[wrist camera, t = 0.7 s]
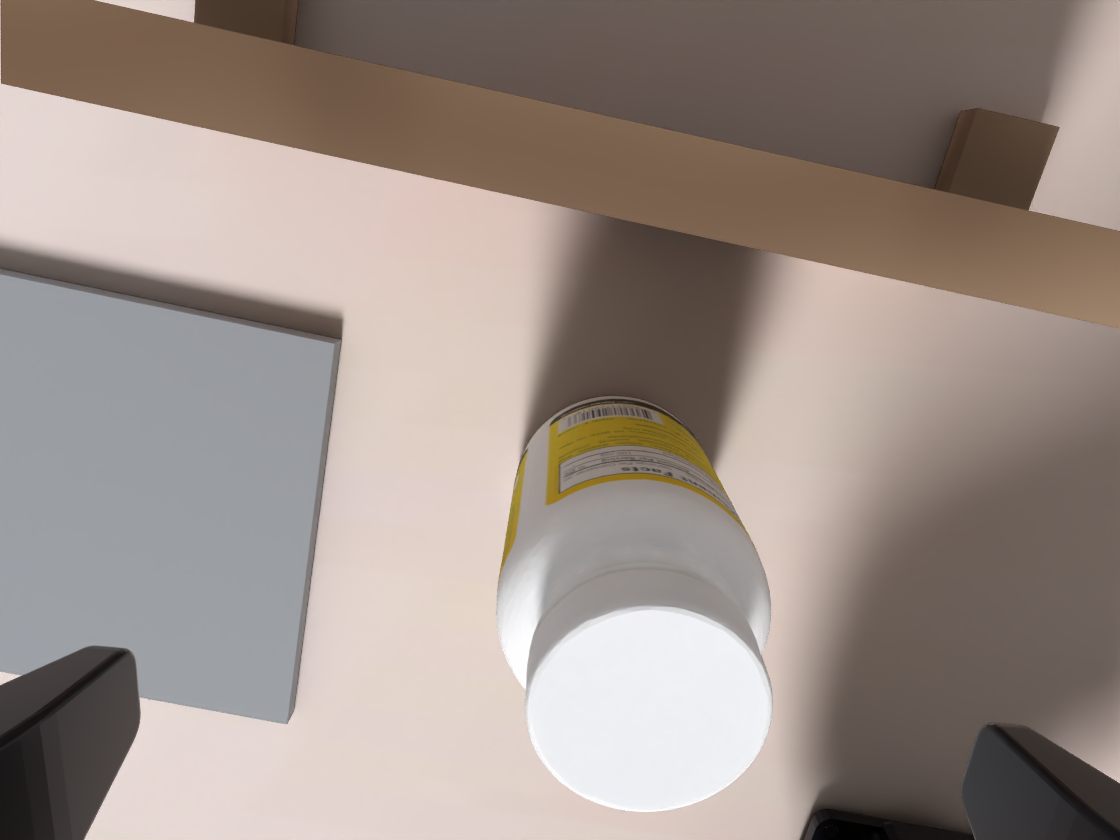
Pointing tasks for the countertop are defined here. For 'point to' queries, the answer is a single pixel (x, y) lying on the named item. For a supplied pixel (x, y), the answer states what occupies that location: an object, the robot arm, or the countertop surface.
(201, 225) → the countertop surface
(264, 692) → the mat
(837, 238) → the screen
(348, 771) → the countertop surface
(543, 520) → the supplement bottle
